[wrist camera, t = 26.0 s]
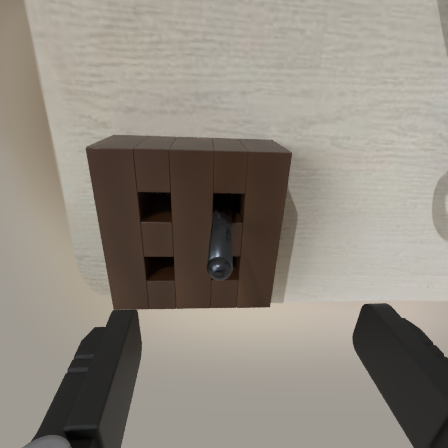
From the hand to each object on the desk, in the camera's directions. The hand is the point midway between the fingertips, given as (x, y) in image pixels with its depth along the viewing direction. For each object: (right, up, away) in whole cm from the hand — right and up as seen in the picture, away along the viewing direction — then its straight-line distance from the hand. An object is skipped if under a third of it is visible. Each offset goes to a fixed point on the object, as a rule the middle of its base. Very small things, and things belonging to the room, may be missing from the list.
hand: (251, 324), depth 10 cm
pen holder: (-4, +5, +16) cm, 18 cm away
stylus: (-1, +7, +16) cm, 17 cm away
